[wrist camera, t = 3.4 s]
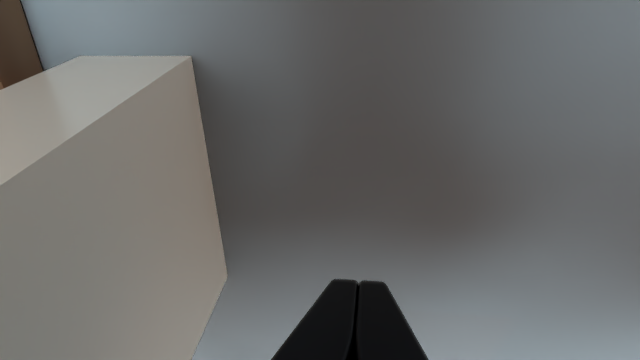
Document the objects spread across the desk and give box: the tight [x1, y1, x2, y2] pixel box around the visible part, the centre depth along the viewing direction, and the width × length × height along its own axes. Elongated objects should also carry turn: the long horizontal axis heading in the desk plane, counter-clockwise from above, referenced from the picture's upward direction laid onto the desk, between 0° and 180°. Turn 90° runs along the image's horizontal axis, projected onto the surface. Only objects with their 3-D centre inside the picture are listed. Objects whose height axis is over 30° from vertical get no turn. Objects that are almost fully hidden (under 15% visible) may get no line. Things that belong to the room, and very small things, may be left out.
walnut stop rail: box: [0, 0, 43, 90], centre depth 11 cm, size 1×14×1 cm, turn 2°
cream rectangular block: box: [0, 56, 228, 360], centre depth 8 cm, size 3×6×8 cm, turn 2°
